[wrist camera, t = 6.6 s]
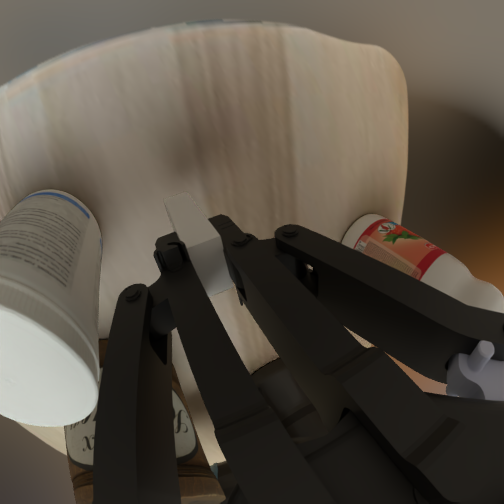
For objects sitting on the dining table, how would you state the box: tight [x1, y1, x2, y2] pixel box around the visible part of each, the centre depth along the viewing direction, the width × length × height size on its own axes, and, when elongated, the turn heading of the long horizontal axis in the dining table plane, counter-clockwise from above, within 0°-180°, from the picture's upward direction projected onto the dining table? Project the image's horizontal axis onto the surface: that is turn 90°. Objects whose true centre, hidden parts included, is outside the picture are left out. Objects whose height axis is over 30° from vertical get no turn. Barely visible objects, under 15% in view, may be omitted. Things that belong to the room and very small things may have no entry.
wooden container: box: [64, 339, 225, 504], centre depth 19 cm, size 15×15×22 cm
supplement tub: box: [0, 189, 102, 427], centre depth 13 cm, size 10×10×15 cm
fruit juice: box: [341, 214, 504, 313], centre depth 24 cm, size 9×9×28 cm
